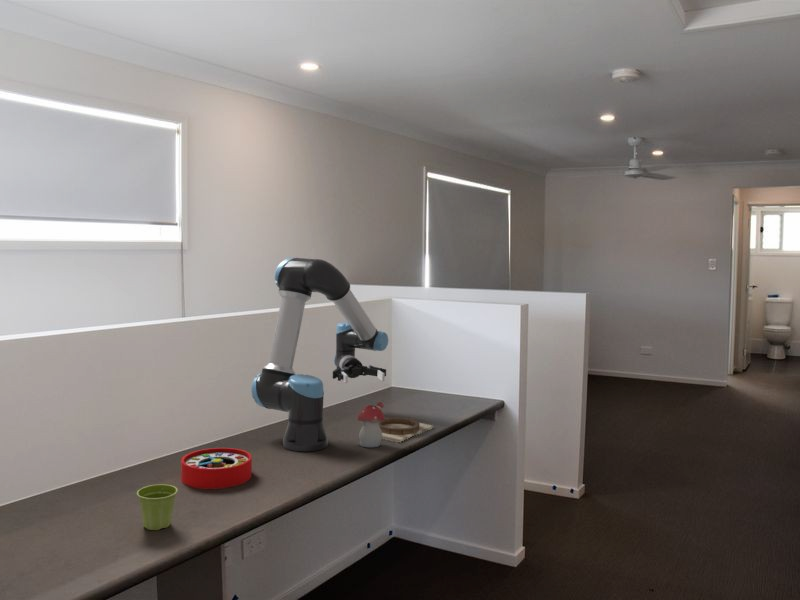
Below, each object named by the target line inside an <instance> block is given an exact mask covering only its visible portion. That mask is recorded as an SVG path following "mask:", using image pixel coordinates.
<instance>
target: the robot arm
mask: <svg viewBox="0 0 800 600" xmlns="http://www.w3.org/2000/svg"><path fill="white" fill-rule="evenodd" d="M274 281H275V285H276V287H277V288H278V294H279V295H280V296H281V298H280V299H281V300H280V304H279V309H278V313H277V319H276V323H275V324H276V325H275V329H274V334H273V337H272V338H273V339H272V343H271V347H270V352H269V357H268V361H267V364H266V365H264V366H263V367H262V369H261V373H258V374H257V375H256V376H255V377H254V378H253V380H252V382H251V391H250V392H251V397H252V399H253V400H254V403H255V404H256V405H257V406H259V407H261V408H265V409H268V410H275V411H280V412H285V413H288V421H287V422H288V423H287V427H286V429H285V432H284V435H283V437H282V447H283V448H284V449H287V450H290V451H294V452H314V451H315V452H316V451H319V450H323V449H326V448H327V447H328V445H329V443H328V441H329V439H328V435H327V432H326V429H325V426H324V425H325V424H324V395H325V392H324V383H323V381H322V380H321V379H320V378H319V377H316V376H314V375H308V374H301V373H300V374H299V373H298V374H296V371H294V369H293V366H294V361H295V357H296V352H297V346H298V341H299V336H300V332H301V326H302V322H303V316H304V312H305V307H306V303H307V302H308V301H309V300H311V299H312V298H311V297H312V294H313V293H320V294H322V295H324V296H325V297H326V298H327V300H328V301H330V302H332V303H333V304H334V305H335V306H336V308H337V309H338V311H339V312H340V313H341V315H342V317H343V318H344V319H345V321H346V322H339V323H337V324H336V332H335V337H336V339H335V342H336V343H335V345H336V347H335V349H336V350H335V355H334V357H333V363H334V366H335V367H336V368H335V369H334V370H333V371H332V379H333V380H335V379H337V381H339V382H342V381H343V383H345V384H348V378H350V379H356V378H358V377H359V376H364V377H366V376H372V377H376V378H377V379H379V380H380V381H382V382H385V377H387V369H386V368H382V367H378V366H377V367H376V366H374V365H371V364H370V365H368V366H367V365H366V366H365V365H363V363H362V362H361V361H360V360H359V359H358V358H356V357H355V356H356V349H360V350H361V349H362V350H368V351H374V352H382V351H383V352H384V351H385V350H386V349H387V347H388V346H389V345H388V344H389V336H388V334H387V333H386V332H385V331H382V330H381V331H380V330H379V331H378V329H377V328H376V326H375V325H374V323H373V322H372V320H371V318H370V317H369V316H368V314H367V313H366V311H365V310H364V308H363V307H362V305H361V304H360V302H359V300H358V299H357V298H356V296H355V295H354V293H353V292H352V291H351V283H350V282H349V280H348V279H347V278H346V277H345V275H344V274H343V273H342V272H341V271H340V270H339V268H337V267H336V266H335V265H334V264H332V263H330V262H328V261H327V260H324V259H317V258H303V257H302V258H301V257H291V258H290V257H289V258H285V259H284V260H283V261H281V262H280V263H279V264H278V265H277V267H276V269H275V272H274Z"/></svg>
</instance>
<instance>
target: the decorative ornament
mask: <svg viewBox="0 0 800 600" xmlns="http://www.w3.org/2000/svg"><path fill="white" fill-rule="evenodd" d="M384 406H385V405H384V403H383V402H380V401H379V402H377V404H376V406H375V405H372V404H371V405H367V406H365V407H364V408H363V409H362V410H361V411H360V412H359V413H358V415H357V420H358V422H363V425H362V427H361V428H360V430H359V432H358V433H359V434H358V437H359V444H358V445H359V446H360V447H363V448H378V447H380V445H381V442H382V440H383V439H382V431H381V429H380V427H379V422H382V421H384V420H385V418H386V417H385V414H384V412H383V411H382V409H383V408H384Z"/></svg>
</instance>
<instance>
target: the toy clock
mask: <svg viewBox="0 0 800 600" xmlns="http://www.w3.org/2000/svg"><path fill="white" fill-rule="evenodd" d="M252 457H253V456H252V454H251V453H250V452H248V451H247V450H243V449H239V448H231V447H212V448H205V449H200V450H195V451H192V452H189V453H187V454H185V455H184V456H183V457H182V458H181V459H180V460H181V461H180V462H181V465H180V467H181V469H180V470H181V471H180V472H181V473H180V477H181V479H180V480H181V482H182V484H184V485H186V486H188V487H191V488H195V489H202V488H203V490H204V489H205V490H216V489H215V488H219V489H227V488H231V486H232V487H237V486H239V484H240V485H242V484H245V483H247V482H248V481H249V480H250V479H251V478H252V475H253V474H252V471H253V468H252V464H253V462H252V460H253V458H252ZM226 487H227V488H226Z"/></svg>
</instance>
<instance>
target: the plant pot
mask: <svg viewBox="0 0 800 600" xmlns="http://www.w3.org/2000/svg"><path fill="white" fill-rule="evenodd" d="M178 490H179V489H178V488H177V487H176V486H174V485H171V484H160V483H159V484H151V485H147V486H143V487H142V488H140V489H138V490H137V491H136V495H137V497H138V500H139V503H140V507H141V508H140V510H141V515H142V523H143V527H144V528H145V529H146V530H149V531H159V530H161V529H166V528H168V527H169V526H170V525H171V521H172V515H173V513H172V512H173V508H174V501H175V499H176V495H177V494H178Z"/></svg>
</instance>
